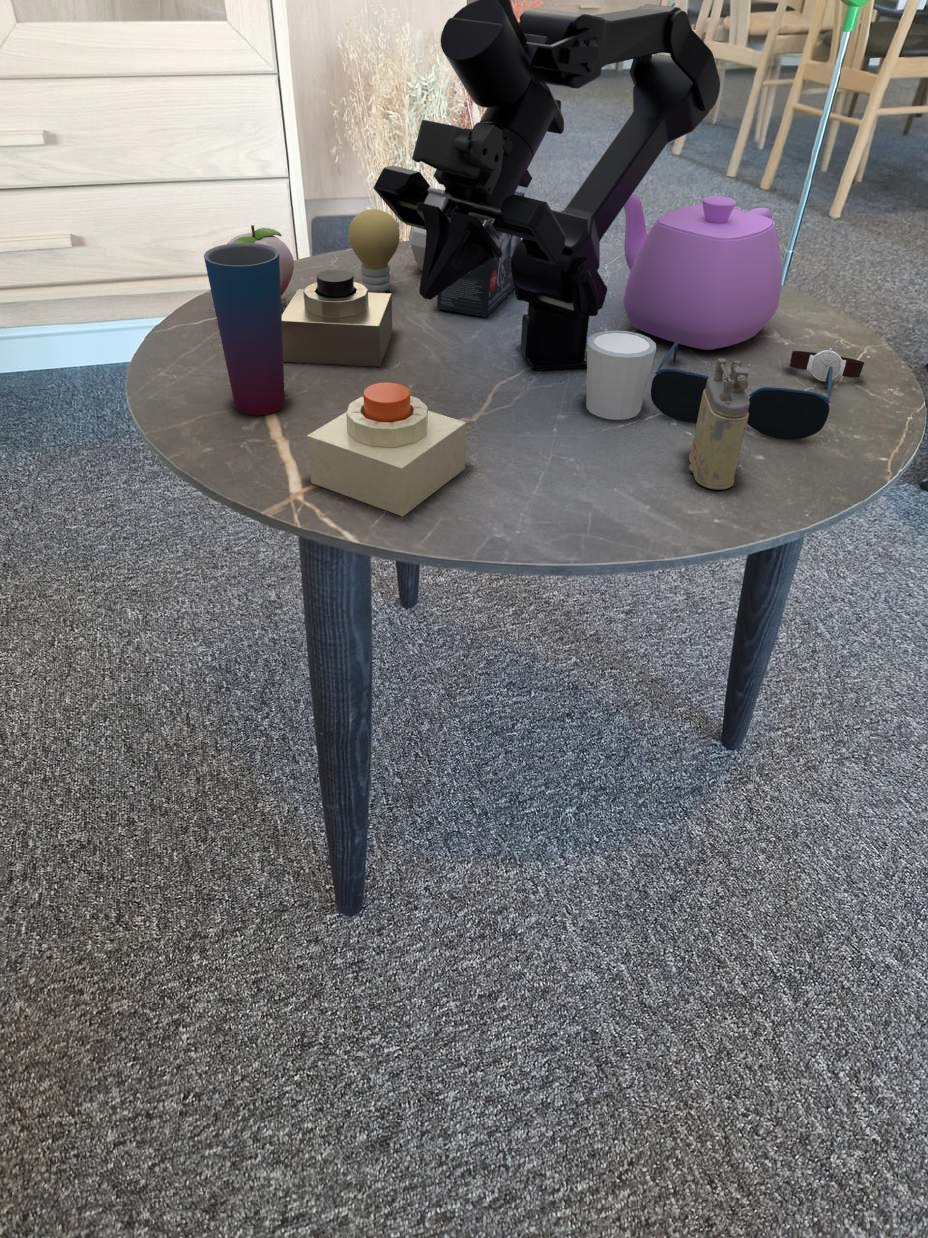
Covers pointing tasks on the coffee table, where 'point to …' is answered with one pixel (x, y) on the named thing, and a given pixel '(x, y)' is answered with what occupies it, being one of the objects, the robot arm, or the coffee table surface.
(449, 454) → the beige button housing
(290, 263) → the decorative fruit
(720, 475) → the lighter
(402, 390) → the power button
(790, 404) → the sunglasses
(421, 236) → the white faceted pot
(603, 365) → the white tapered cylinder
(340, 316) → the beige button base
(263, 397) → the cup
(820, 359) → the watch
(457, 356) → the coffee table surface
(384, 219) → the light bulb
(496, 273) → the small box
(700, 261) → the teapot
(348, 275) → the button
